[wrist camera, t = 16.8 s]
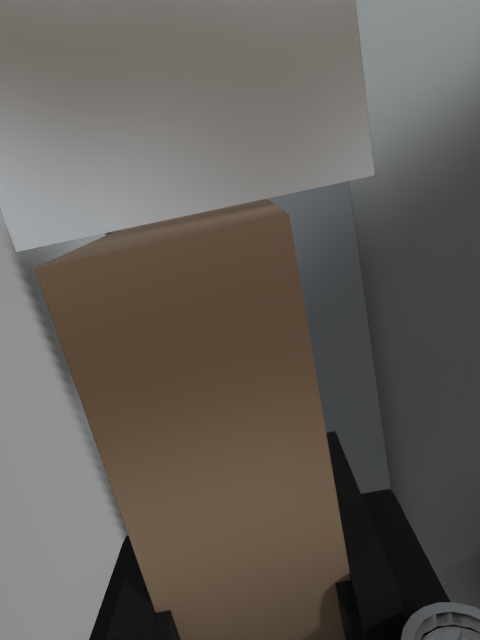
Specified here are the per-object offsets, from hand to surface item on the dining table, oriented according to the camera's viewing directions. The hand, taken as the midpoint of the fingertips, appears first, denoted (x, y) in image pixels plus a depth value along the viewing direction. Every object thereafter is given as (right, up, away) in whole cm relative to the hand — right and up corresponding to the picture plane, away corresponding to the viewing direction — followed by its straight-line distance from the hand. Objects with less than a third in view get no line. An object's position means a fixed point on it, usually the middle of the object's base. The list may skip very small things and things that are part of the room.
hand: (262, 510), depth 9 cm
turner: (0, +2, 0) cm, 2 cm away
